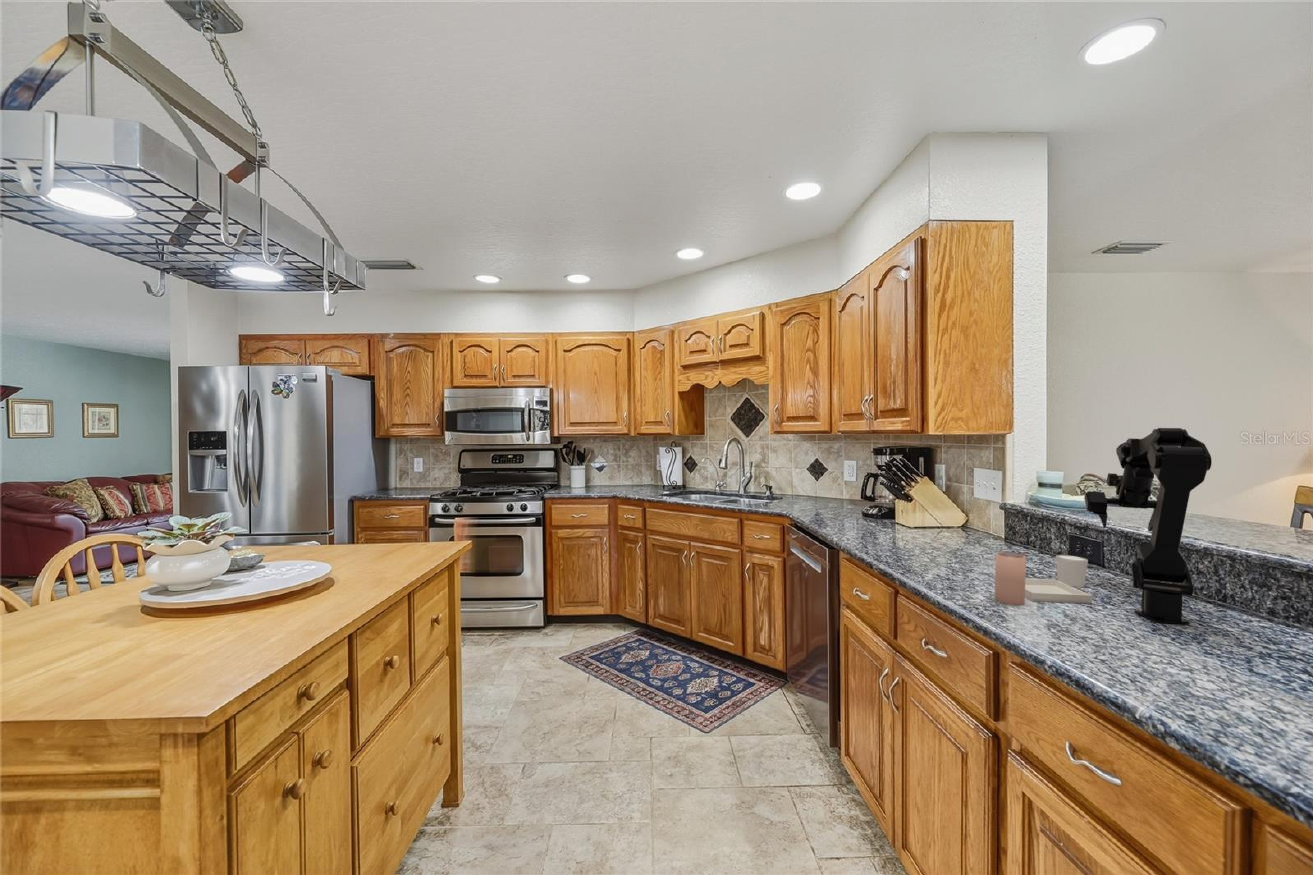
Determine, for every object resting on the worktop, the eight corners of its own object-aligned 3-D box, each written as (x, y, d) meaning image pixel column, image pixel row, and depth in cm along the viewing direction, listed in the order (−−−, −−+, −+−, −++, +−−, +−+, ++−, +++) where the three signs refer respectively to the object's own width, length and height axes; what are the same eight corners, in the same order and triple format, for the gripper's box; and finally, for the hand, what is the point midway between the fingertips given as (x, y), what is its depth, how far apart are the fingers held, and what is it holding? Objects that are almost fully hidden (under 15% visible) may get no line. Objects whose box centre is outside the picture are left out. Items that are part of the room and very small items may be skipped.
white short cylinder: (1075, 580, 145) (1076, 555, 145) (1094, 588, 138) (1094, 561, 138) (1049, 579, 146) (1049, 554, 146) (1065, 587, 139) (1066, 560, 139)
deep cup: (1030, 605, 123) (1031, 558, 123) (1003, 604, 124) (1004, 557, 124) (1015, 597, 129) (1016, 552, 129) (989, 596, 130) (990, 551, 130)
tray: (1091, 603, 125) (1091, 595, 125) (1032, 601, 127) (1033, 593, 127) (1055, 587, 138) (1056, 579, 138) (1002, 585, 140) (1003, 577, 139)
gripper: (1177, 465, 136) (1165, 511, 143) (1085, 461, 145) (1078, 505, 153) (1190, 492, 128) (1176, 540, 135) (1091, 487, 137) (1083, 532, 145)
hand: (1126, 528), depth 142 cm, fingers open, 9 cm apart
